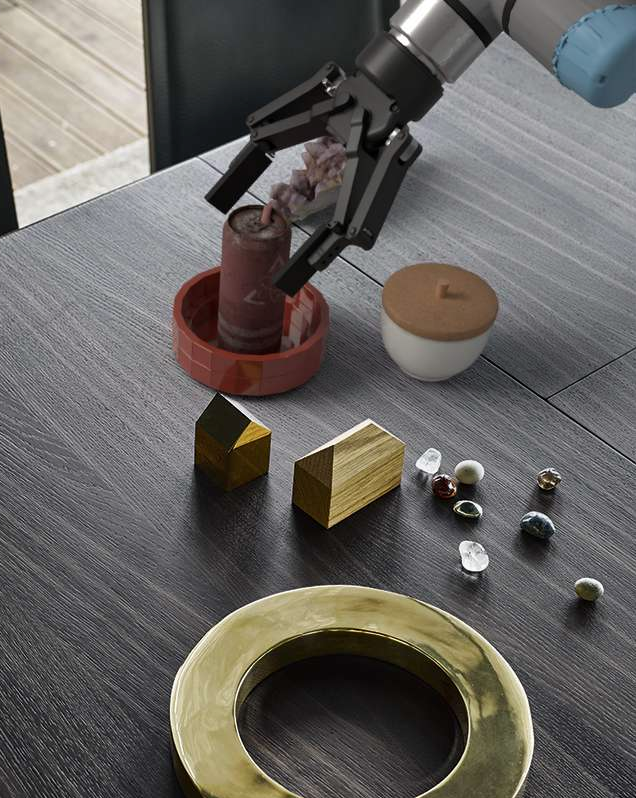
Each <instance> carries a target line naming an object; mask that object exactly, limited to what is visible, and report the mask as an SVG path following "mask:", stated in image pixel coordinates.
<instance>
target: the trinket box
mask: <svg viewBox="0 0 636 798" xmlns="http://www.w3.org/2000/svg"><path fill="white" fill-rule="evenodd" d="M499 304H500V303H499V299H498V296H497V294H496V292H495V289H493V287H492V286H491V285H490V284H489V283H488V282H487V281H486V280H485V279H483V278H482V277H481V276H479V275H478V274H475V273H474V272H472V271H470V270H468V269H465V268H463V267H459V266H457V265H453V264H447V263H441V262H420V263H416V264H411V265H406V266H405V267H404V266H403V267H402V268H400V269H398V270H396V271H395V272H393V273H392V274H391V275H390V276H389V277H388V278H387V280H385V282H384V285H383V286H382V293H381V307H380V315H379V317H380V318H379V327H380V334H381V335H380V336H381V340H382V343H383V346H384V349H385V351H386V352H387V355H389V357H390V359H391V360H392V361H393V362H394V363H395V364H396V365H397V366H398V368H399V369H400V371H402V372H403V373H404V374H405V375H407V376H408V377H411V378H413V379H416V380H418V381H422V382H429V383H431V382H432V383H434V382H435V383H436V382H442V381H446V380H449V379H451V378H452V377H453V376H456V375H459V374H460V373H462V372H464V371H465V370H466V369H468V368H470V367H471V366H472V365H473V364H474V363H475V362H476V361H477V359H479V358H480V356H481V355H482V353H483V351H484V350H485V347H486V346H487V344H488V342H489V339H490V337H491V333H492V331H493V327H494V324H495V322H496V319H497V316H498V312H499V308H500V307H499V306H500V305H499Z"/></svg>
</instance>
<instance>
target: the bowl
mask: <svg viewBox="0 0 636 798" xmlns="http://www.w3.org/2000/svg"><path fill="white" fill-rule="evenodd" d="M220 274H221V265H218V266H215V267H213V268H210V269H206V270H204V271H201V272H199V273H197V274H196V275H194V276H193V277H191V278H189V279H188V280H187V281H186V282H184V283H182V285H181V287H180V288H179V290H178V291H177V293H176V294H175V296H174V298H173V306H172V328H171V329H172V331H171V349H172V351H173V354H174V356H175V359H176V361H177V363H178V365H179V366H180V367H181V368H182V369H183V370H184V371H185V373H187V375H189V376H190V377H191V378H193V379H194V380H195V381H198V382H199V383H202V384H203V385H205V386H207V387H209V388H211V389H213V390H217V391H220V392H224V393H228V394H231V395H239V396H254V397H255V396H257V397H259V396H260V397H261V396H267V395H274V394H280V393H285V392H287V391H290V390H292V389H295V388H297V387H300V386H302V385H304V384H305V383H306V382H308V381H309V380H310V379H311V378H313V377H314V376H315V375H316V374H317V373H318V372H319V370H321V369H320V368H321V367H322V365H323V363H324V360H325V359H326V355H327V346H328V339H329V333H330V323H331V318H330V316H331V315H330V307H329V304H328V302H327V300H326V298H325V297H324V295H323V293H322V292H321V290H319V289H318V288H317V287H315V286H314V285H313V284H312V282H310V280H309V281H308V282H307V283H306V284H305V285H304V286H303V287H302V288H301V289H300V290H299V291H298V293H297V294H296V295H295V296H294V297H293V298H291V297H290V296H288V295H287V294H286V300H285V311H284V321H283V331H282V341H281V346H280V349H279V350H278V351H277V353H275V354H268V355H247V354H236V353H232V352H229V351H225V350H222V349H221V348H220V347H219V345H218V340H217V334H218V314H219V294H220Z"/></svg>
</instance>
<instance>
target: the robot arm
mask: <svg viewBox="0 0 636 798" xmlns="http://www.w3.org/2000/svg"><path fill="white" fill-rule="evenodd" d="M389 27H390V28H391V29H390V30H389V31H387V30H383V31H379V32H378V33H377V34H376V35H375V36H374V37H373V38H372V39H371V41H369V43H368V44H367V45H366V46H365V47H364V49H363V50H362V51H361V52H360V53H359V54H358V55H357V57H356V58H355V60H354V65H355V67H356V70H355V72H354V73H353V74H351V75H350V76H349V75H348V74H347V73H346V72H345V71H344V70H343V69H342V68H341V67H340V66H339V65H338V64H337V63H335V61H333V60H329V61H328V62H326V63H325V64H324V65H323V66H322V67H321V68H320V69H319V70H318V71H317V72H316V73H315V74H314V75H313V76H311V77H310V78H309V79H307V80H305V81H304V82H302V83H300V84H299V85H297V86H295V87H294V88H292V89H290V90H289V91H287V92H286V93H284V94H282V95H280V96H279V97H277V98H276V99H274V100H272V101H270V102H269V103H267V104H266V105H263V106H262V107H260V108H259V109H257V110H255V111H254V112H252V113H250V114H249V115H248V116H247V117H246V119H245V124H246V126H247V127H248V128H249V131H250V134H249V141H248V142H247V143H246V144H245V145H244V146H243V147H242V149H241V150H240V151H239V152H238V153H237V154H236V155H235V157H234V158H233V159H232V160H231V161H230V163H229V165H228V167H227V168H228V169H227V170H226V171H225V172H224V173H223V174H222V176H221V177H220V178H219V179H218V180H217V182H215V184H214V185H213V186H212V187H211V188H210V189H209V191H208V192H207V193H206V194H205V195H204V196H203V199H204V200H205V201H206V202H207V203H208V204H209V205H210V206H212V208H213V207H214V208H215V209H216V210H218V211H219V212H220V213H222V214H223V215H224V216H226V215H227V214H228V213H229V212H230V211H231V209H233V208H234V206H235V205H236V204H237V203H238V202H239V201H240V199H242V197H243V196H244V195H245V194H246V193H247V191H248V190H249V189H250V188H251V187H252V186H253V185H254V184H255V183H256V181H257V180H258V179H259V178H260V177H261V176H262V175H263V174H264V173H265V171H267V170H268V168H269V167H270V166H271V165H272V163H274V161H273V160H272V159H275V158H276V153H277V152H280V151H283V150H286V149H289V148H292V147H295V146H297V145H302V144H306V143H308V142H311V141H313V140H317V139H318V138H320V137H323V136H329V137H335V138H336V139H337V140H338V142H339V143H340V144H341V145H342V146H343V147H344V148H345V149H346V151H345V153H346V157H347V162H346V167H345V171H344V175H343V179H342V183H341V187H340V191H339V195H338V200H337V204H335V208H334V213H333V217H332V221H325V223H324V222H322V223H321V224H320V225H319V226H318V227H317V228H316V229H315V230H314V231H313V232H312V233H311V234H310V236H309V237H308V238H307V239H306V240H305V241H304V242H303V243H302V245H300V247H299V248H298V249H297V250H296V251H294V253H293V254H292V255H291V256H290V259H289V260H288V261H287V262H286V263H285V264H284V265H283V266H282V267H281V268H280V270H279V271H278V272H277V273H276V274H275V275H274V276H273V277H272V278H271V279H270V281H271V282H272V283H273V285H274V286H276V287H277V288H279V289H280V290H281V291H283V292H284V293H286V294H287V295H288V296H290V297H291V298H293V297H294V296H295V295H296V294H297V293H298V291H299V290H300V289H301V288H302V287H303V286H304V285H305V284H306V283H307V282H308V281H309V282H310V280H311V279H312V278H313V277H314V276H315V274H317V272H319V273H322V272H323V271H325V270H327V268H328V267H329V266H330V265H331V264H332V263H333V262H334V261H335V260H336V259H337V258H338V257H339V256H340V255H341V253H342V252H344V250H345V249H346V248H347V247H350V246H355V247H357V248H360V249H362V250H363V251H365V252H369V251H371V250H372V249H373V248H374V246H375V244H376V242H377V240H378V238H379V236H380V234H381V231H382V229H383V227H384V224H385V222H386V220H387V218H388V215H389V213H390V211H391V209H392V207H393V204H394V202H395V200H396V197H397V196H398V193H399V191H400V189H401V186H402V184H403V182H404V180H405V177H406V176H407V173H408V171H409V170H410V168H411V167H412V165H414V163H415V162H416V161H417V160H418V158H419V157H420V156H421V154H422V153H423V150H424V147H423V145H422V144H421V143H420V142H419V141H418V140H417V139H416V138H415V137H414V136H413V134H411V133H410V131H409V132H408V131H407V130H404V128H405V126H406V125H408V124H409V123H410V122H412V123H418V122H420V121H422V119H424V117H425V116H426V115H427V114H428V113H429V112H430V111H431V110H432V108H434V106H435V105H436V104H437V103H438V102H439V101H440V100H441V99H442V98H443V96H444V95H445V94H444V92H445V88H444V87H443V85H445V83H447V84H449V85H450V84H451V85H452V84H455V83H456V82H457V81H458V79H459V78H460V77H461V76H462V75H464V73H465V72H466V71H467V70H468V69H469V67H471V65H472V64H473V63H475V61H476V60H477V59H478V58H479V57H480V55H482V53H484V51H485V50H487V49H488V48H489V46H490V45H491V44H492V43H493V42H494V41H495V40H496V39H497V38H498V37H499V36H500V35H501V34H502V33H505V35H506V36H508V37H509V38H511V40H512V41H513V42H515V43H516V44H518V45H519V46H520V47H521V48H523V50H525V52H527V53H528V54H529V55H530V56H531V57H532V58H533V59H534V60H536V61H537V62H538V63H539V64H540V65H542V67H544V68H545V69H546V70H547V71H548V72H549V73H550V74H551V75H552V76H553V77H554V78H555V79H556V81H557V82H558V83H560V85H561V86H562V87H563V88H566V89H567V90H568V91H572V92H574V93H575V94H576V95H578V96H579V97H580V98H582V99H583V100H584V101H585V102H587V103H589V104H590V105H591V106H593V107H595V108H598V109H603V110H604V109H613V108H616V107H619V106H620V105H622V104H625V103H627V102H628V101H629V99H630V98H631V97H632V96H633V95H634V94H636V0H406V1H405V2H404V3H403V4H402V5H401V6H400V7H399V8H398V9H397V11H395V13H394V14H393V15H392V16H391V17H390V18H389ZM266 122H267V123H266ZM386 146H387V147H386ZM384 147H386V149H385V150H384V152H383V148H384ZM271 158H272V159H271Z"/></svg>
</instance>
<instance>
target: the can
mask: <svg viewBox="0 0 636 798" xmlns="http://www.w3.org/2000/svg"><path fill="white" fill-rule="evenodd" d="M292 237H293V230H292V226H291V223H290V224H289V222H288V218H287V217H286V216H285V215H284V214H283V213H282V212H281V211H279V210H277V209H276V208H273V207H272V206H271V205H269V204H259V203H258V204H246V205H241V206H239V207H237V208H234V209H233V210H232V211H231V212H230V213H229V214H228V216H227V219H226V220H225V221H224V223H223V227H222V237H221V253H220V254H221V256H220V257H221V258H220V266H221V274H220V294H219V314H218V334H217V340H218V345H219V347H220V348H221V349H222V350H225V351H229V352H232V353H236V354H247V355H268V354H275V353H277V351H278V350H279V349H280V346H281V341H282V331H283V321H284V311H285V300H286V293H284V292H283V291H281V290H280V289H279V288H277V287H276V286H274V285H273V283H272V282H271V281H270V279H271V278H272V277H273V276H274V275H275V274H276V273H277V272H278V271H279V270H280V268H281V267H282V266H283V265H284V264H285V263H286V262H287V261H288V260H289V259H290V258H291V247H292Z"/></svg>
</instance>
